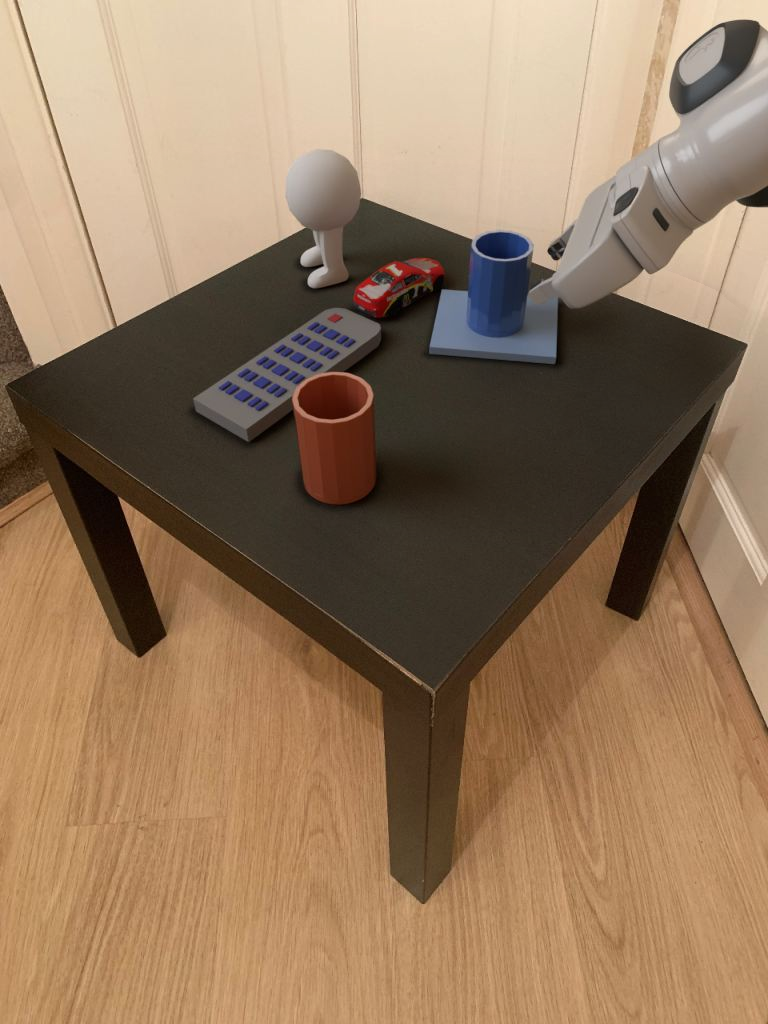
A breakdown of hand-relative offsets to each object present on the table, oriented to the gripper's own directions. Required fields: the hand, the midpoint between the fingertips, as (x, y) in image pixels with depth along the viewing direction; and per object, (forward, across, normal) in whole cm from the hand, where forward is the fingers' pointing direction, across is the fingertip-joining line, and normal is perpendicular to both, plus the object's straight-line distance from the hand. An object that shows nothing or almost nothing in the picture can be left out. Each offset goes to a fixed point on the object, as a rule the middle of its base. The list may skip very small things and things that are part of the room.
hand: (542, 274), depth 85 cm
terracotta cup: (+15, +28, -3) cm, 32 cm away
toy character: (+26, -6, -14) cm, 30 cm away
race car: (+18, -4, -6) cm, 20 cm away
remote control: (+22, +15, -10) cm, 29 cm away
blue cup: (+8, -1, +2) cm, 9 cm away
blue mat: (+9, -1, +2) cm, 9 cm away
